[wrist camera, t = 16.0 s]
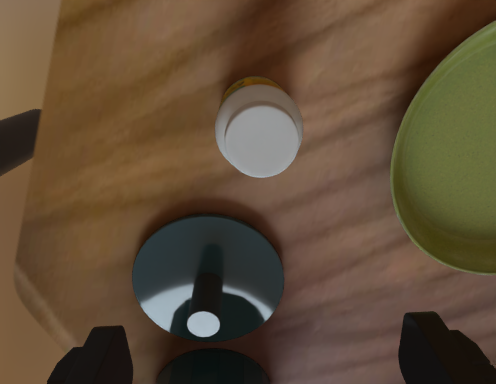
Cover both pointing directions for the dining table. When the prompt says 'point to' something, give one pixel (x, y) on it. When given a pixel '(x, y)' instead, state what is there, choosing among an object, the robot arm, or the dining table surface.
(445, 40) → the dining table surface
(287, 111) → the supplement bottle
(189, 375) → the pot
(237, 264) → the lid
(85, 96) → the dining table surface
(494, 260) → the saucer
